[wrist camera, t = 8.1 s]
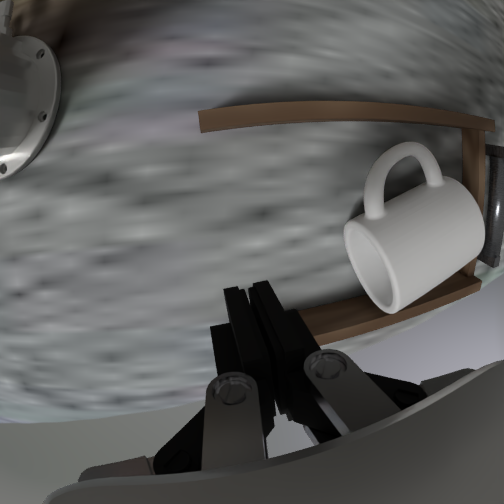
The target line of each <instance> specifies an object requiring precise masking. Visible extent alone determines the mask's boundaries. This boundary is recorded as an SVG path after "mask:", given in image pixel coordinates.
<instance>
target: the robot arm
mask: <svg viewBox="0 0 504 504" xmlns="http://www.w3.org/2000/svg"><path fill="white" fill-rule="evenodd" d="M13 6H14V2H13V1H11V0H5V1H2V2H0V180H1V179H5V178H7V177H10V176H13V175H15V174H16V173H18V172H19V171H21V170H22V169H23V168H24V167H26V166H27V165H28V164H29V163H30V162H31V161H32V160H33V158H34V157H35V156H36V155H37V153H38V152H39V151H40V149H41V148H42V146H43V144H44V142H45V141H46V139H47V137H48V135H49V133H50V130H51V128H52V126H53V124H54V121H55V117H56V114H57V111H58V107H59V101H60V96H61V71H60V65H59V62H58V59H57V56H56V55H55V53H54V52H53V50H52V49H51V47H50V46H48V45H47V44H46V43H45V42H44V41H42V40H40V39H38V38H36V37H32V36H27V35H26V36H16V37H12V31H13V30H12V29H11V28H9V25H10V20H11V18H12V12H13ZM46 115H47V118H46ZM45 118H46V119H45ZM223 290H224V296H225V301H226V306H227V312H228V317H229V322H230V323H226V324H221V325H215V326H210V330H211V337H212V343H213V350H214V356H215V362H216V368H217V374H218V376H217V377H216V378H214V379H213V380H212V381H211V382H210V384H209V385H208V387H207V390H206V402H205V406H204V407H203V408H202V409H201V410H200V411H199V412H198V414H196V415H195V416H194V417H193V418H192V419H191V420H190V421H189V422H188V423H187V424H186V425H185V426H184V427H183V428H182V429H181V430H180V431H179V432H178V433H177V434H176V435H175V436H174V437H173V438H172V439H171V440H170V441H168V442H167V443H166V445H164V446H163V447H162V448H161V449H160V450H159V451H158V452H157V454H156V455H155V456H153V457H150V458H147V457H146V456H141V457H138V458H134V459H129V460H125V461H120V462H116V463H110V464H105V465H101V466H94V467H91V468H88V469H86V470H85V471H83V472H82V473H81V475H80V477H79V479H78V482H77V483H73V484H70V485H67V486H64V487H62V488H60V489H57V490H56V491H54V492H52V493H51V494H50V495H48V496H47V498H46V499H45V500H44V501H43V504H504V360H501V361H496V362H494V363H491V364H488V365H486V366H483V367H481V368H479V369H477V370H474V369H469V368H467V369H461V370H458V371H455V372H452V373H449V374H446V375H442V376H439V377H435V378H432V379H428V380H424V381H421V383H420V385H417V384H414V383H411V382H407V381H402V380H398V379H393V378H388V377H384V376H380V375H375V374H371V373H367V372H363V371H362V370H361V369H360V368H359V367H358V366H357V365H356V364H355V363H354V362H353V360H351V358H350V357H349V356H347V355H346V354H345V353H343V352H341V351H338V350H333V349H323V350H321V348H320V347H319V345H318V343H317V342H316V340H315V338H314V337H313V335H312V334H311V332H310V330H309V329H308V327H307V325H306V324H305V322H304V321H303V319H302V317H301V316H300V314H299V312H298V311H297V310H296V309H291V310H286V311H284V309H283V307H282V305H281V304H280V302H279V300H278V298H277V296H276V294H275V293H274V291H273V289H272V287H271V285H270V284H269V282H268V280H266V281H261V282H256V283H253V287H250V288H248V292H249V299H250V303H249V300H248V298H247V295H246V292H245V290H244V289H240V290H239V288H238V286H236V287H231V288H226V289H223ZM274 399H275V400H274ZM275 401H276V404H277V407H278V410H279V412H280V414H281V415H282V414H286V415H287V418H288V420H289V421H291V420H293V421H294V422H297V423H299V424H302V425H303V428H304V430H305V432H306V433H307V435H308V436H309V438H310V439H311V441H312V442H313V444H314V445H315V446H313V447H309V448H306V449H303V450H299V451H296V452H292V453H288V454H285V455H281V456H277V457H273V458H268V449H267V440H266V437H267V436H268V435H269V433H270V432H271V431H272V429H273V428H274V416H276V409H275Z"/></svg>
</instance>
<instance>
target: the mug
mask: <svg viewBox="0 0 504 504" xmlns="http://www.w3.org/2000/svg"><path fill="white" fill-rule="evenodd" d="M406 156H414V157H415V158H417V160H418V161H419V162H420V164H421V166H422V169H423V171H424V174H425V178H426V182H424V183H422V184H420V185H418V186H417V187H415V188H413V189H411V190H409V191H407V192H405V193H403V194H401V195H399V196H397V197H395V198H393V199H391V200H389V201H387V202H385V203H384V185H385V180H386V177H387V174H388V172H389V170H390V169H391V168H392V166H393V165H394V164H395V163H396V162H398V161H399V160H401V159H402V158H404V157H406ZM364 209H365V213H363V214H361V215H359V216H357V217H355V218H353V219H351V220H349V221H348V222H347V223H346V224H345V227H344V241H345V246H346V250H347V253H348V256H349V259H350V262H351V264H352V266H353V269H354V271H355V273H356V275H357V277H358V279H359V281H360V283H361V284H362V286H363V288H364V289H365V291H366V292H367V294H368V295H369V297H370V298H371V299H372V301H373V302H374V303H375V304H376V305H377V306H378V307H379V308H380V309H381V310H383V311H384V312H386V313H389V314H394V313H396V312H398V311H399V310H401V309H403V308H404V307H406V306H407V305H409V304H410V303H412V302H413V301H415V300H417V299H418V298H420V297H421V296H423V295H424V294H426V293H427V292H429V291H430V290H432V289H433V288H434V287H436V286H437V285H439V284H440V283H442V282H443V281H444V280H446V279H447V278H449V277H450V276H451V275H453V274H454V273H455V272H457V271H458V270H460V269H461V268H462V267H464V266H465V265H466V264H467V263H469V262H470V261H471V260H473V259H474V258H475V257H477V256H478V255H479V253H480V252H481V250H482V248H483V245H484V241H485V226H484V220H483V217H482V214H481V211H480V209H479V206H478V204H477V202H476V201H475V199H474V197H473V196H472V195H471V193H470V192H469V191H468V190H467V189H466V188H465V187H464V186H463V185H462V184H461V183H460V182H458V181H457V180H455V179H453V178H451V177H447V176H442V173H441V170H440V168H439V165H438V163H437V161H436V159H435V157H434V156H433V154H432V153H431V152H430V151H429V150H428V149H427V148H426V147H425V146H423V145H422V144H420V143H417V142H403V143H400V144H397V145H395V146H393V147H392V148H390V149H388V150H387V151H386V152H384V153H383V154H382V155H381V156H380V157H379V158H378V159H377V160H376V162H375V163H374V164H373V166H372V167H371V169H370V171H369V173H368V176H367V179H366V182H365V187H364Z"/></svg>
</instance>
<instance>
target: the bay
mask: <svg viewBox="0 0 504 504" xmlns="http://www.w3.org/2000/svg"><path fill="white" fill-rule="evenodd" d="M198 115H199V123H200V130H201V133H206V132H212V131H219V130H227V129H235V128H243V127H252V126H262V125H273V124H286V123H302V122H328V121H375V122H400V123H415V124H427V125H438V126H447V127H455V128H462V151H463V179H462V185H463V186H464V187H465V188H466V189H467V190H468V191H469V192H470V193H471V195H472V196H473V197H474V199H475V201H476V202H477V204H478V206H479V209H480V211H481V214H482V217H483V206H484V192H485V155H488V156H490V173H489V195H488V208H487V219H486V227H485V241H484V245H483V248H482V250H481V252H480V253H479V255H478V256H477V257H475V258H474V259H473V260H471V261H470V262H469V263H467V264H466V265H465V266H464V267H462V268H461V269H460V270H458V271H457V272H455V273H454V274H453V275H451V276H450V277H449V278H447V279H446V280H444V281H443V282H442V283H440V284H439V285H437V286H436V287H434V288H433V289H432V290H430V291H429V292H427V293H426V294H424V295H423V296H421V297H420V298H418V299H417V300H415V301H413V302H412V303H410V304H409V305H407V306H406V307H404V308H403V309H401V310H399V311H398V312H396V313H394V314H389V313H386V312H384V311H383V310H381V309H380V308H379V307H378V306H377V305H376V304H375V303H374V302H373V301H372V299H371V298H370V297H369V295H368V294H366V295H363V296H359V297H355V298H351V299H347V300H343V301H339V302H334V303H330V304H326V305H322V306H317V307H313V308H309V309H304V310H300V311H298V312H299V314H300V316H301V317H302V319H303V321H304V322H305V324H306V325H307V327H308V329H309V330H310V332H311V334H312V335H313V337H314V338H315V340H316V342H317V343H318V345H319V346H321V345H325V344H329V343H333V342H336V341H340V340H343V339H347V338H350V337H354V336H357V335H361V334H364V333H367V332H370V331H374V330H377V329H380V328H383V327H386V326H389V325H392V324H395V323H398V322H401V321H404V320H407V319H409V318H412V317H415V316H418V315H420V314H423V313H426V312H428V311H431V310H434V309H436V308H439V307H441V306H444V305H446V304H449V303H451V302H454V301H456V300H459V299H461V298H463V297H466V296H468V295H470V294H473V293H475V292H477V291H479V290H480V288H481V283H482V280H480V279H479V278H477V277H475V276H474V271H475V266H476V260H477V259H478V260H480V261H482V262H484V263H485V264H487V265H489V266H491V267H492V268H495V267H497V266H499V261H500V251H501V245H502V239H503V232H504V147H502V146H496V145H489V144H485V131H491V132H495V121H494V120H492V119H487V118H483V117H479V116H474V115H469V114H464V113H459V112H453V111H447V110H441V109H434V108H427V107H420V106H411V105H402V104H391V103H377V102H358V101H295V102H275V103H261V104H250V105H240V106H231V107H222V108H215V109H208V110H201V111H198Z"/></svg>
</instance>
